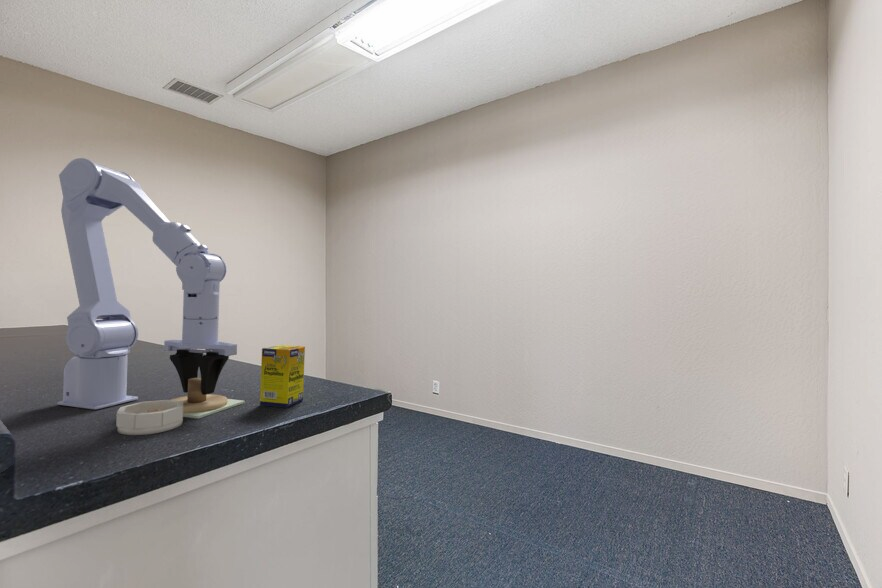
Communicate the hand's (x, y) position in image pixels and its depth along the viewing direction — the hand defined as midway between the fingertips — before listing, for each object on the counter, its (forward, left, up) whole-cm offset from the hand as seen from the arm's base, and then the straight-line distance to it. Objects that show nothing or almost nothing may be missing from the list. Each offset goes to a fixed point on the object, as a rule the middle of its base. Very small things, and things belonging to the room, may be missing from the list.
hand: (198, 392), depth 77 cm
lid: (0, 0, -2) cm, 2 cm away
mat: (0, 0, -3) cm, 3 cm away
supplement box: (+12, +8, -3) cm, 15 cm away
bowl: (+2, -11, -3) cm, 12 cm away
